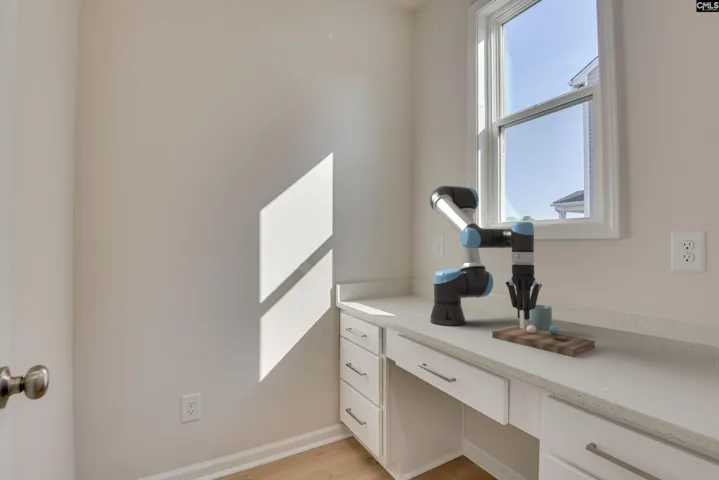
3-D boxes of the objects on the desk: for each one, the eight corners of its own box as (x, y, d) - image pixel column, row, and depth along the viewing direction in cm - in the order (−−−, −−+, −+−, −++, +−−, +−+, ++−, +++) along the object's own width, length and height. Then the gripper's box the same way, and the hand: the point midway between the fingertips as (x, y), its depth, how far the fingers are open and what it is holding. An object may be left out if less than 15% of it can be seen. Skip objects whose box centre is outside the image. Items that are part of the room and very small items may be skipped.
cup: (554, 334, 136) (554, 308, 136) (533, 333, 138) (532, 307, 138) (548, 329, 144) (548, 305, 144) (527, 328, 145) (527, 304, 145)
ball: (524, 324, 128) (533, 326, 125) (529, 323, 130) (537, 324, 127) (524, 333, 128) (533, 335, 125) (529, 331, 130) (537, 333, 127)
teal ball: (547, 333, 127) (547, 325, 127) (551, 332, 129) (551, 323, 129) (556, 335, 124) (556, 326, 124) (560, 334, 126) (560, 325, 126)
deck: (492, 337, 131) (492, 330, 131) (515, 331, 141) (515, 325, 141) (573, 357, 109) (573, 348, 109) (594, 348, 118) (594, 340, 118)
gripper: (501, 263, 133) (501, 326, 133) (535, 264, 123) (535, 332, 122) (512, 262, 138) (512, 323, 137) (545, 264, 127) (546, 329, 127)
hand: (523, 327), depth 130 cm, fingers closed
